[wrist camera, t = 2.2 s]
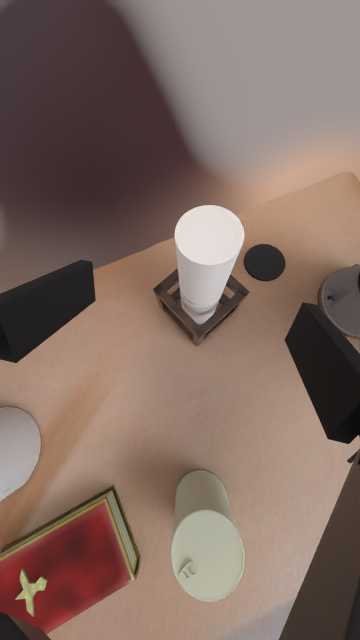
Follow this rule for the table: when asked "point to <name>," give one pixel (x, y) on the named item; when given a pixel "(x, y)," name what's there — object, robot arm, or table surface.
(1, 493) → the white paper roll
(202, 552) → the can
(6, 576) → the hardcover book
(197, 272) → the cylindrical container
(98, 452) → the table surface
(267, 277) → the coaster
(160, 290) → the rack
